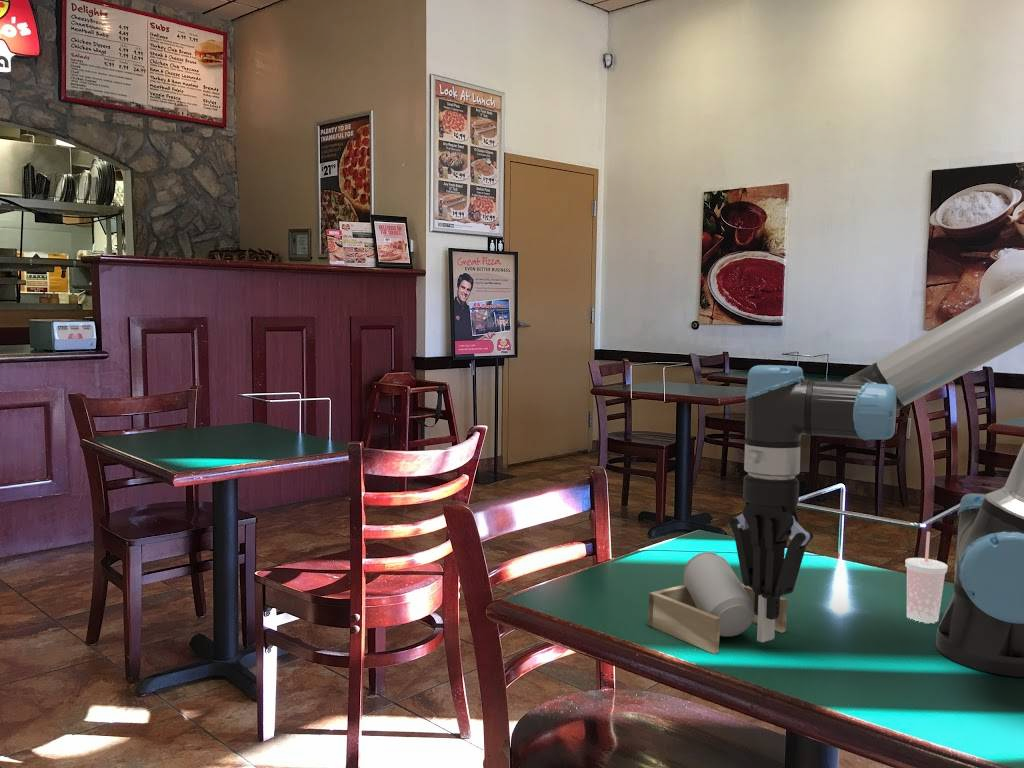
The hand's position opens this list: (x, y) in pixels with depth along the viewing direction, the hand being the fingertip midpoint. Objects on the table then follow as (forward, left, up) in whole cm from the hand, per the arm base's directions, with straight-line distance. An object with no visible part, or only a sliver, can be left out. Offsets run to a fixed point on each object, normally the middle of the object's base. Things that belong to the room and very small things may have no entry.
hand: (765, 639), depth 124 cm
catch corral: (0, -9, -1) cm, 9 cm away
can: (+2, -4, +2) cm, 5 cm away
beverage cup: (-32, +5, -2) cm, 33 cm away
